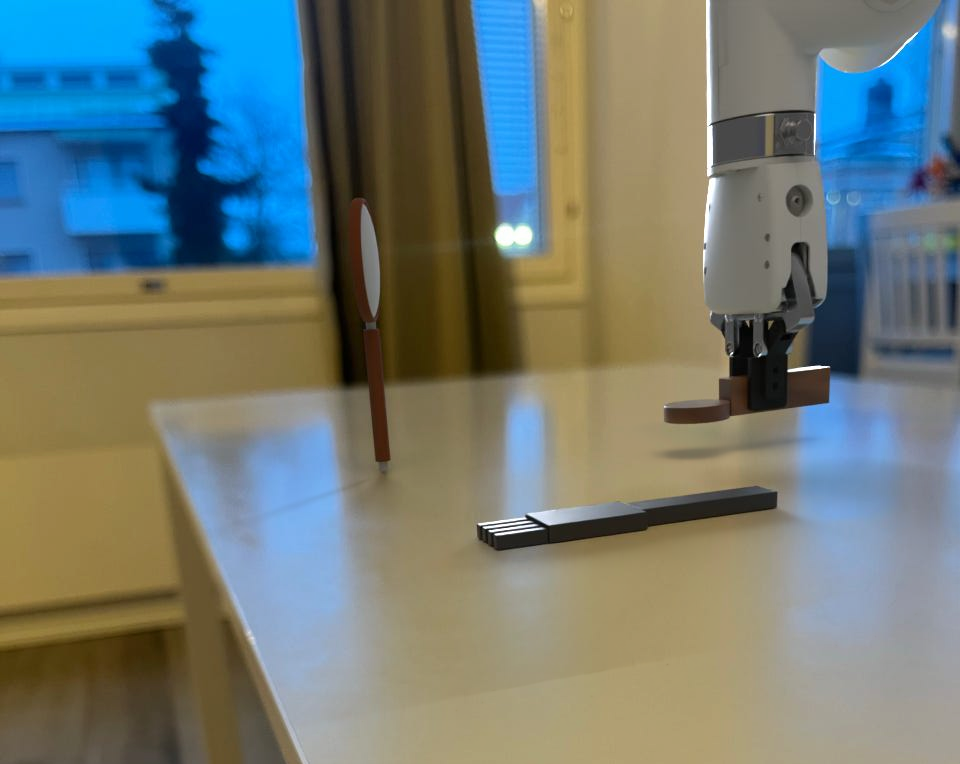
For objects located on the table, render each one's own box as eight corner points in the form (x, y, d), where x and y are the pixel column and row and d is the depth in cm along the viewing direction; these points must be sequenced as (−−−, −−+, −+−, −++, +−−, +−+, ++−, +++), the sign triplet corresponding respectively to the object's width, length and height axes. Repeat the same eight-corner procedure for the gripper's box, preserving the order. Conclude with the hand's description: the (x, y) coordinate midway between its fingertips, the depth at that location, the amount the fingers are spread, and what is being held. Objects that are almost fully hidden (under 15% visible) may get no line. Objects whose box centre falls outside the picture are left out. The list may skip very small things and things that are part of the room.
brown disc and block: (803, 400, 82) (803, 365, 81) (842, 404, 77) (844, 367, 76) (652, 420, 78) (651, 384, 77) (684, 426, 73) (684, 387, 72)
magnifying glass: (387, 483, 74) (361, 191, 67) (364, 484, 74) (336, 193, 67) (401, 464, 82) (379, 202, 76) (381, 464, 82) (357, 203, 76)
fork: (749, 499, 61) (750, 483, 61) (784, 509, 58) (785, 493, 58) (476, 537, 56) (475, 519, 56) (498, 550, 53) (497, 532, 53)
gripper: (877, 128, 66) (865, 410, 72) (743, 163, 80) (742, 396, 86) (781, 132, 64) (776, 422, 70) (661, 168, 78) (665, 406, 84)
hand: (757, 406), depth 78 cm, fingers closed on brown disc and block
